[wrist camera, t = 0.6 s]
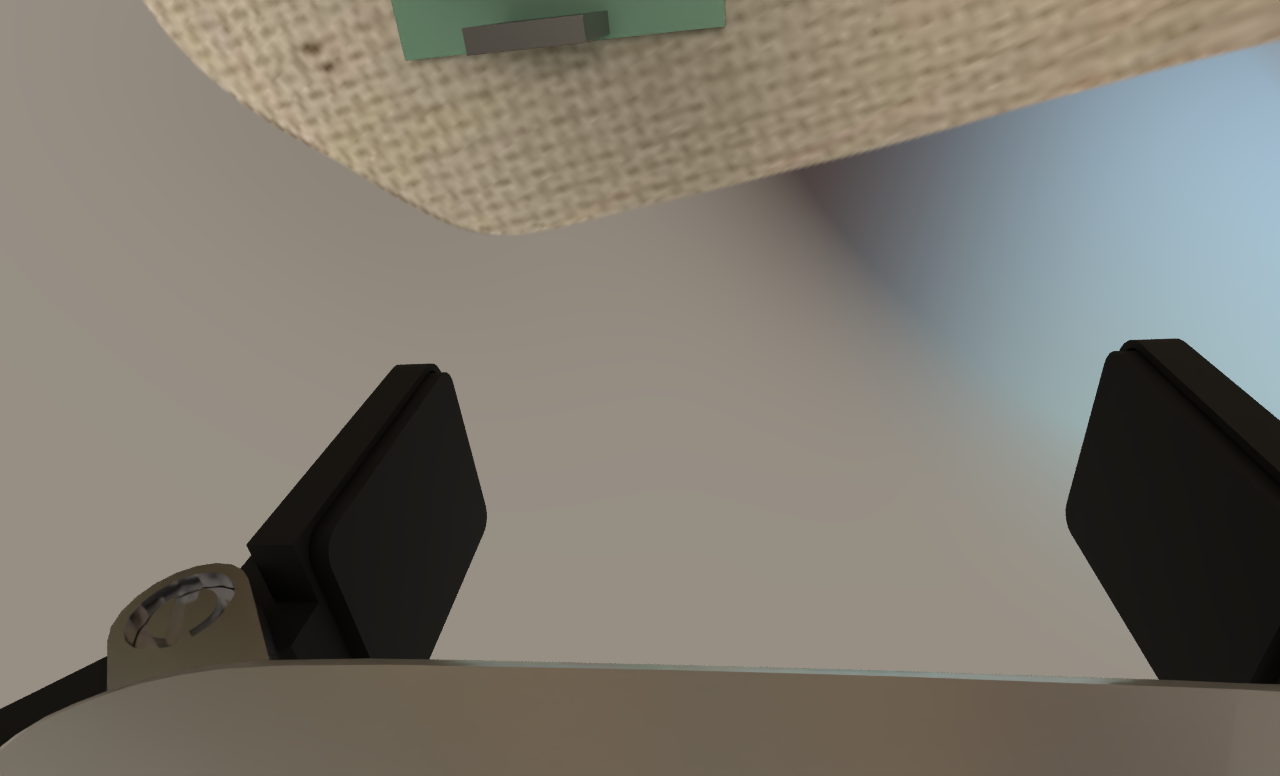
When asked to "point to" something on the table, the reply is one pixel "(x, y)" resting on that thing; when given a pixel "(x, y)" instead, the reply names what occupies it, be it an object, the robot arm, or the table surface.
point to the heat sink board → (539, 23)
